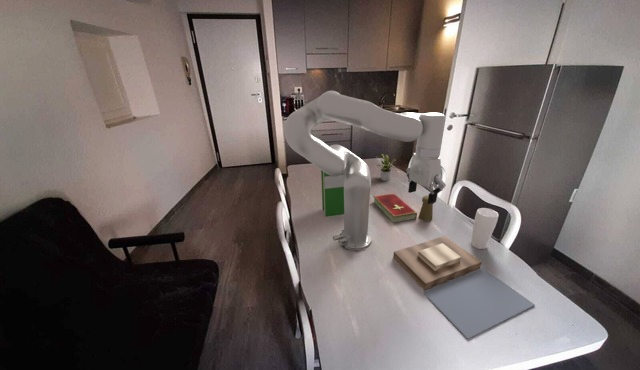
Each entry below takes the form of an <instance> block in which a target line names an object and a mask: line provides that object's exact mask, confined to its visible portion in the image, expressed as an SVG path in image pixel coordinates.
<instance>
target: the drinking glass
mask: <svg viewBox="0 0 640 370" xmlns="http://www.w3.org/2000/svg"><path fill="white" fill-rule="evenodd" d="M499 215H500V214H499V213H498V212H497V210H496V211H495V210H494V209H492V208H489V207H488V208H487V207H481V208H478V209H477V210H476V213H475V216H474V221H473V228H472V229H473V230H472V234H471V235H472V236H471V240H470V245H471V246H472V247H473V248H476V249H479V250H485V249H486V248H487V247H488V245H489V241H490V239H491V238H492V235H493V233H494V230H495V228H496V225H497V224H498V219H499Z"/></svg>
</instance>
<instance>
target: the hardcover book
mask: <svg viewBox="0 0 640 370" xmlns="http://www.w3.org/2000/svg"><path fill="white" fill-rule="evenodd" d="M373 198H374V199H373V202H374V204H375V205H376V206H377V207H378V208H379V209H380V210H381V211H382V213H383V214H385V216H386V217H387V218H388V219H390V221H391V222H392V223H399V222H403V221H411V220H414V219H415V220H416V219H417V217H418V212H417V211H416V210H415V209H414V208H412V207H411V206H410V205H408V204H407V203H406V202H404V200H402V199H401V198H400V197H398V196H397V194H395V193H394V192H393V193H392V192H391V193H385V194H378V195H373Z"/></svg>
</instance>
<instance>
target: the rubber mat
mask: <svg viewBox="0 0 640 370" xmlns="http://www.w3.org/2000/svg"><path fill="white" fill-rule="evenodd" d="M422 293H423V295H424V296H426V297H427V299H428V300H430V302H431V303H432V304H433V305H434V306H435V307H436V308H437V309H438V310H439V311H440V312H441V313H442V314H443V316H444V317H446V319H447V320H448V321H449V322H450V323H451V324H452V325H453V326H454V327H455V328H456V329H457V330H458V332H459V333H461V335H463V337H464V338H465V339H466V340H469V339H472V338H473V337H475V336H477V335H480V334H481V333H483V332H486V331H487V330H489V329H491V328H493V327H495V326H497V325H499V324H501V323H504V322H505V321H507V320H509V319H511V318H513V317H514V316H517V315H519V314H521V313H523V312H525V311H527V310H529V309H530V308H533V307H535V304H534V303H533V301H532V302H531V301H530V300H529V299H528V298H527V297H525V296H524V295H522V294H521V293H520V292H518V291H516V289H513V288H512V287H511V286H510V285H508V284H507V283H505V282H504V281H502V280H501V279H500V278H499V277H497V276H495V274H493V273H492V272H490V271H488V269H486V268H484V267H483V268H480V269H478V270H475V271H473V272H470V273H467V274H465V275H462V276H460V277H457V278H455V279H452V280H450V281H447V282H445V283H442V284H439V285H437V286H434V287H432V288H429V289H427V290H423V292H422Z"/></svg>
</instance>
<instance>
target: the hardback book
mask: <svg viewBox="0 0 640 370" xmlns="http://www.w3.org/2000/svg"><path fill="white" fill-rule="evenodd" d="M320 172H321V173H320V178H321V200H322V203H321V204H322V205H321V206H322V207H321V208H322V211H324V217H327V218H328V217H334V216H344V178H345V176H344V175H343V174H341V175H340V176H337V177H333V176H330V175H328V174H326V173H325V172H324V171H322V170H321V169H320Z"/></svg>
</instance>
